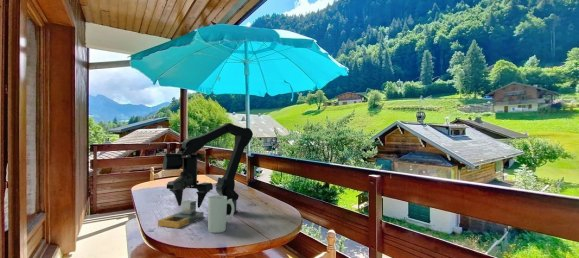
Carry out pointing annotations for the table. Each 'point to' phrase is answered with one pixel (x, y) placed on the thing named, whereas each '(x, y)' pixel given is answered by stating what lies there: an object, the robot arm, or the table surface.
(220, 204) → the mug
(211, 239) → the table surface
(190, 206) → the peg
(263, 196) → the table surface
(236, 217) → the table surface
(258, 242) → the table surface
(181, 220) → the shallow compartment tray
